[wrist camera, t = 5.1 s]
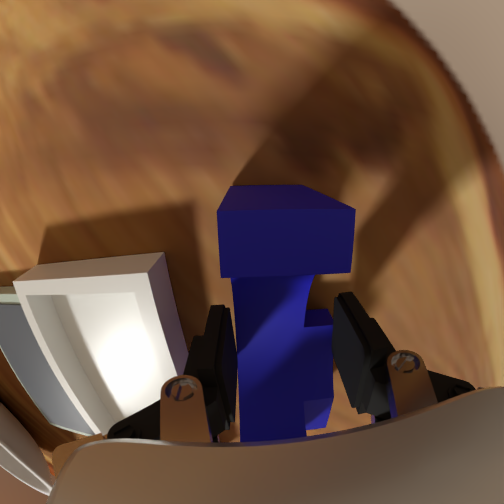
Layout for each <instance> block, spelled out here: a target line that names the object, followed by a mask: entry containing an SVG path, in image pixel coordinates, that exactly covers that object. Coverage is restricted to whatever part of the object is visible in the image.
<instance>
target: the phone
mask: <svg viewBox="0 0 504 504" xmlns="http://www.w3.org/2000/svg"><path fill="white" fill-rule="evenodd" d="M0 348H1V350H2V352H3V354H4V356H5V357H6V359H7V361H8V363H9V365H10V366H11V368H12V370H13V371H14V373H15V375H16V376H17V378H18V379H19V381H20V383H21V384H22V386H23V387H24V389H25V390H26V392H27V393H28V395H29V396H30V398H31V399H32V400H33V402H34V403H35V405H36V406H37V407H38V409H39V410H40V411H41V413H42V414H43V415H44V417H45V418H46V419H47V421H48V422H49V423H50V424H51V425H53V426H56V427H59V428H62V429H65V430H68V431H72V432H75V433H79V434H82V435H86V436H92V435H96V434H95V433H94V432H93V431H92V429H91V428H90V427H89V425H88V424H87V423H86V421H85V420H84V419H83V417H82V416H81V414H80V413H79V412H78V410H77V409H76V407H75V406H74V404H73V403H72V401H71V400H70V398H69V397H68V395H67V394H66V392H65V391H64V389H63V387H62V386H61V384H60V382H59V381H58V379H57V377H56V376H55V374H54V372H53V371H52V369H51V367H50V365H49V363H48V362H47V360H46V358H45V356H44V354H43V352H42V350H41V348H40V346H39V344H38V342H37V340H36V338H35V336H34V334H33V332H32V330H31V327H30V325H29V323H28V321H27V318H26V316H25V313H24V311H23V309H22V306H21V304H20V301H19V298H18V296H17V293H16V290H15V287H14V286H7V287H0Z"/></svg>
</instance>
